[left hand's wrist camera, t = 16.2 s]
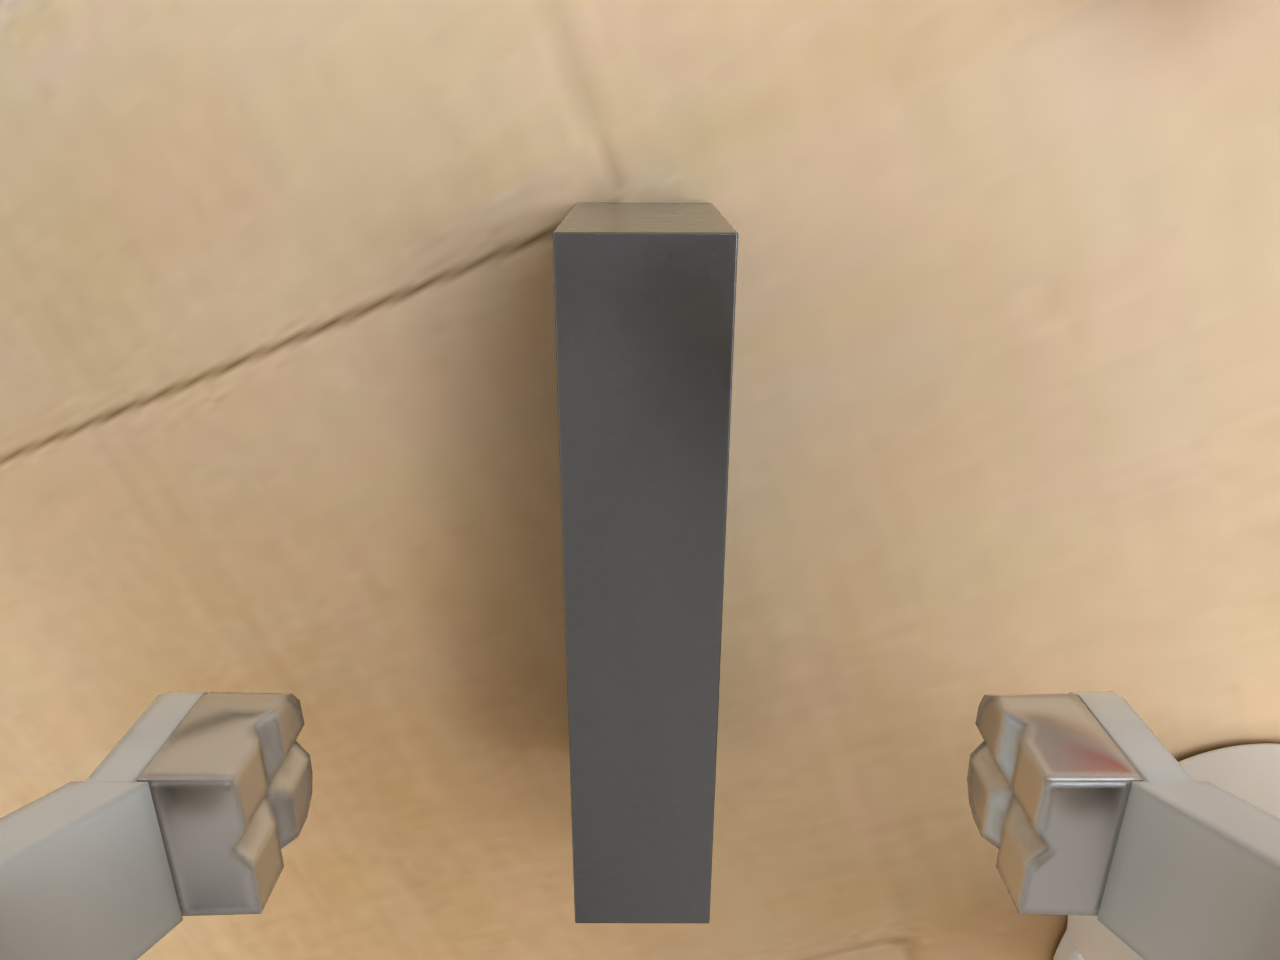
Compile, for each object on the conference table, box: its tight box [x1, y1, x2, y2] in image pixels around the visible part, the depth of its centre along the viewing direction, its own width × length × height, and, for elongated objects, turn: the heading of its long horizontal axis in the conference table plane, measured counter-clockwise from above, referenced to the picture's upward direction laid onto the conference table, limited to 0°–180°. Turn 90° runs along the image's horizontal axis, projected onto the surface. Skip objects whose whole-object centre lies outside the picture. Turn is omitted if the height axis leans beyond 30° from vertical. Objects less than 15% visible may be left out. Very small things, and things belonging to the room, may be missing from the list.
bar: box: [553, 203, 738, 923], centre depth 31 cm, size 23×5×9 cm, turn 0°
